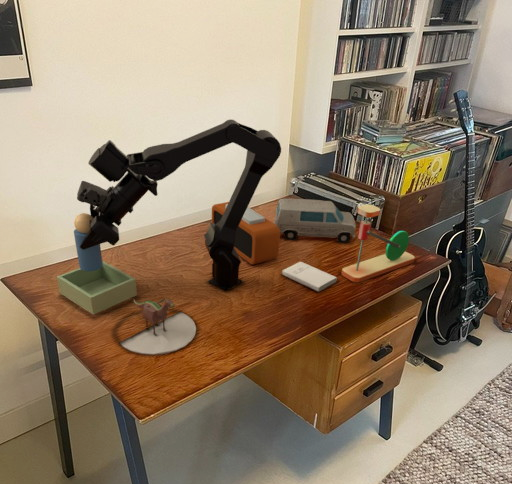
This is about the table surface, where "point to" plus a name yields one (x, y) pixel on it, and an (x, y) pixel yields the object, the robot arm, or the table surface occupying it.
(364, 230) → the crank mechanism
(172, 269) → the table surface
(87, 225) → the peg doll
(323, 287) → the hard drive
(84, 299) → the green square tray
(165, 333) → the dinosaur
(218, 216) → the alarm clock
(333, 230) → the toy car
